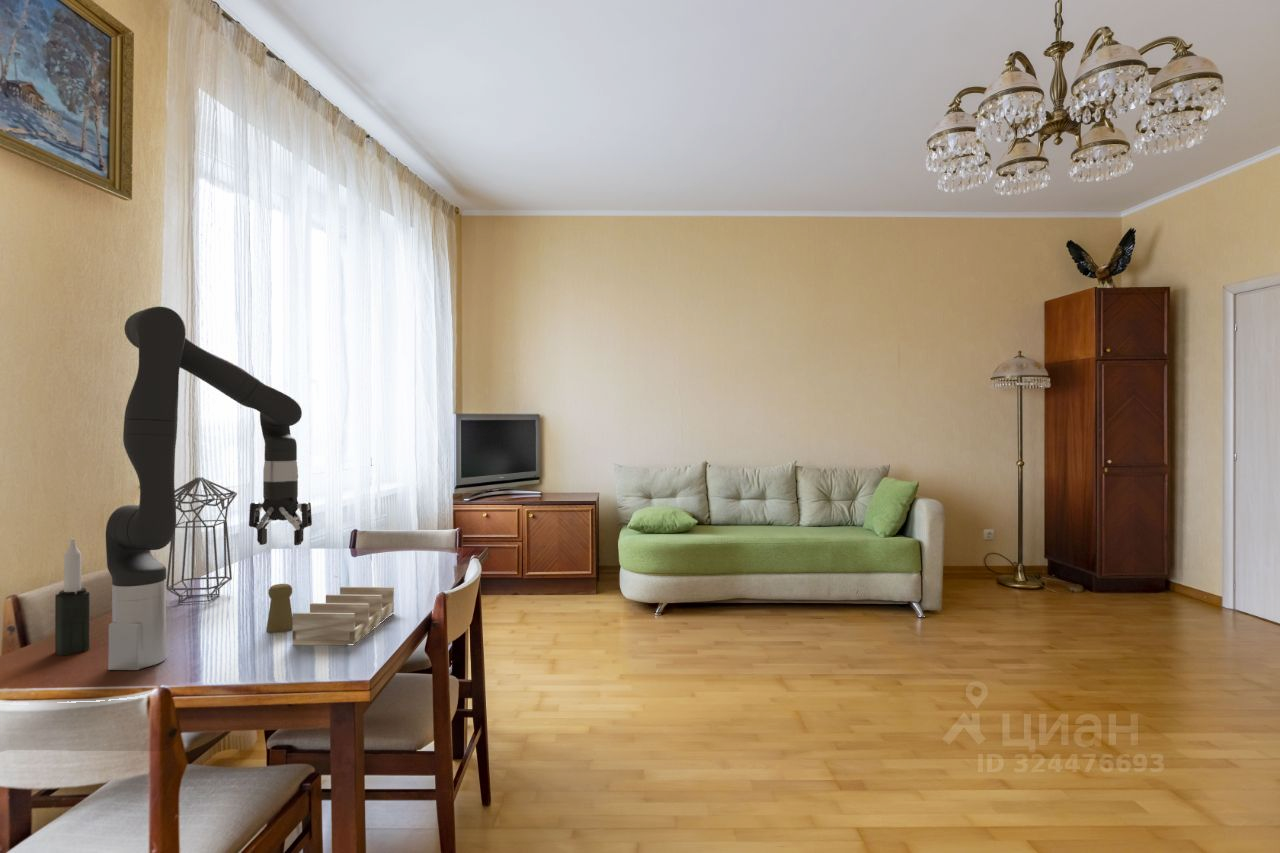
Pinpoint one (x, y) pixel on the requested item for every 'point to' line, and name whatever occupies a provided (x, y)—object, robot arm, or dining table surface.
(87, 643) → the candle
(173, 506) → the robot arm
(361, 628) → the slot rack
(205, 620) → the dining table surface
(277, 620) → the cork
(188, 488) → the geometric lantern
